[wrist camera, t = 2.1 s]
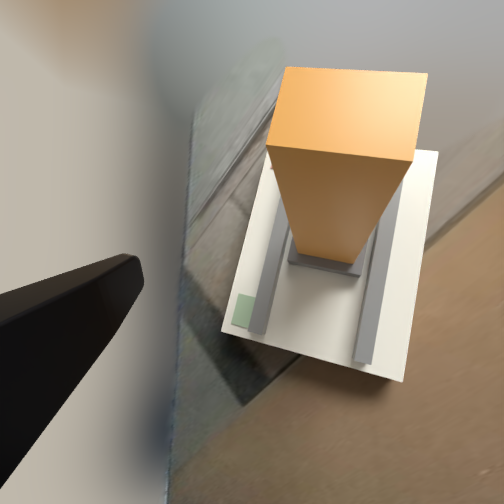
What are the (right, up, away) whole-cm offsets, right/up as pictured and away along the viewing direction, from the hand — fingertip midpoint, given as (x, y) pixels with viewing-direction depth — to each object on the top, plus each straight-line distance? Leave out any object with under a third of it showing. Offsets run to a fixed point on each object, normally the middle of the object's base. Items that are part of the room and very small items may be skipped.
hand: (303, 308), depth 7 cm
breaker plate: (+4, +1, +13) cm, 13 cm away
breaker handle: (+3, +2, +11) cm, 11 cm away
